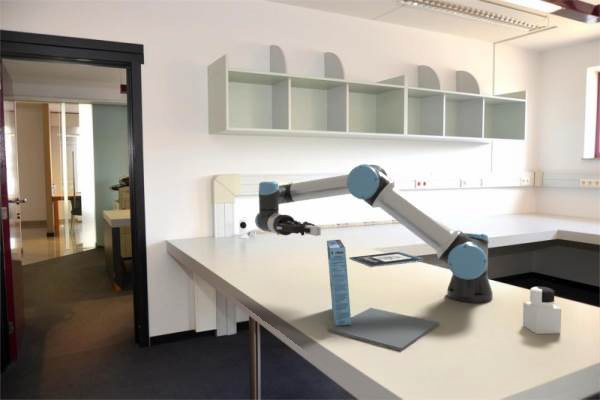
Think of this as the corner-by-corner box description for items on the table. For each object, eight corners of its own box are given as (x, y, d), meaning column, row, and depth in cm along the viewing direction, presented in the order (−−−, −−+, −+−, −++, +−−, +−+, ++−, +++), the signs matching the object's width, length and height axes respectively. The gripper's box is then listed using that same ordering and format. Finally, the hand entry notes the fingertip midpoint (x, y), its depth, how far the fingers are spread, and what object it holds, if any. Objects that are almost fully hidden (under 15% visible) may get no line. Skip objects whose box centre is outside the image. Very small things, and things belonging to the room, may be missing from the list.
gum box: (351, 325, 131) (346, 246, 130) (333, 326, 131) (328, 248, 130) (346, 307, 150) (341, 239, 149) (330, 308, 150) (326, 240, 150)
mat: (438, 324, 133) (438, 322, 133) (401, 351, 115) (401, 348, 115) (370, 310, 148) (370, 307, 148) (327, 331, 129) (327, 328, 129)
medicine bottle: (546, 324, 132) (547, 284, 131) (561, 333, 125) (562, 291, 124) (522, 325, 132) (523, 285, 131) (535, 334, 125) (537, 291, 124)
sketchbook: (349, 260, 231) (349, 256, 231) (398, 254, 242) (398, 250, 242) (371, 268, 211) (371, 263, 211) (424, 262, 223) (424, 257, 222)
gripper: (297, 232, 171) (334, 240, 151) (266, 236, 164) (301, 244, 144) (296, 213, 171) (334, 218, 151) (265, 215, 163) (300, 221, 144)
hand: (318, 231), depth 148 cm, fingers closed
